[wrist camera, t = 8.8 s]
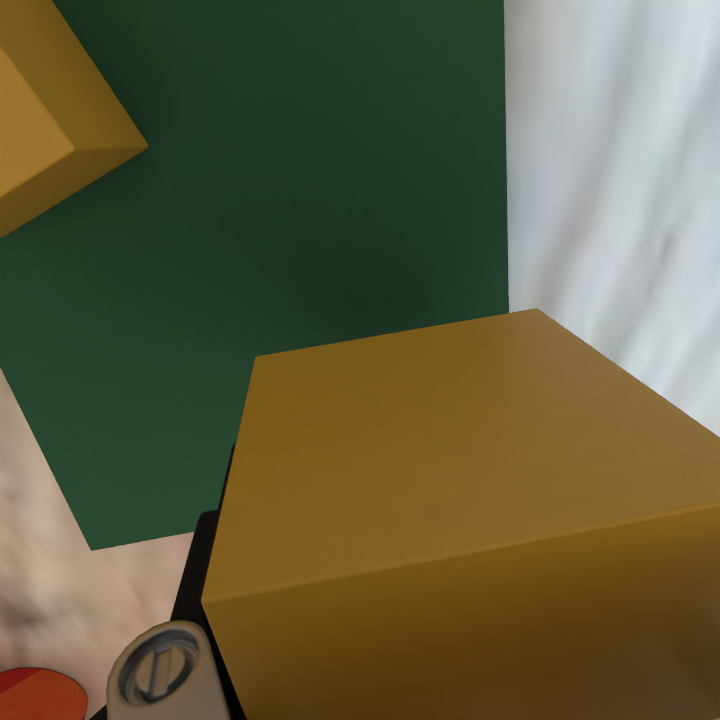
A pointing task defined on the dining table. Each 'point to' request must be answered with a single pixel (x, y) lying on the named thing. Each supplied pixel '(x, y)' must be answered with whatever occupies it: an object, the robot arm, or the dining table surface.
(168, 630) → the robot arm
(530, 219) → the dining table surface
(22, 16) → the yellow block
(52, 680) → the paper cup
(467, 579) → the yellow block
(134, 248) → the towel
